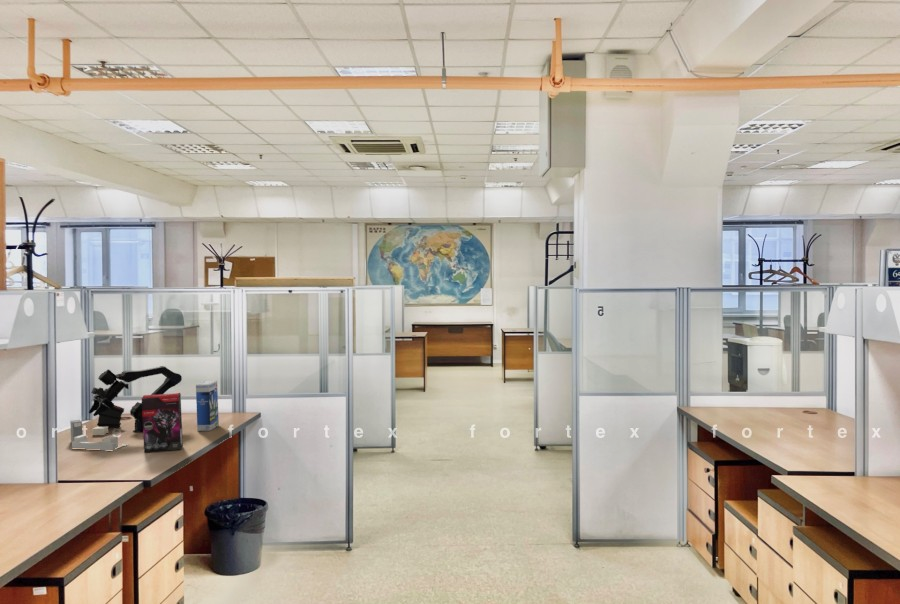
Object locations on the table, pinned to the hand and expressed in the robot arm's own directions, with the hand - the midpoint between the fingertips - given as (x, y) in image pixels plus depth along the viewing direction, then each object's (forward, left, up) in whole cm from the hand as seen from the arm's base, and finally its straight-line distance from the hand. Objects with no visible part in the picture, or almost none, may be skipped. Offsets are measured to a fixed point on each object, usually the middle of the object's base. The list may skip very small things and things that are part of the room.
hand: (91, 414), depth 323 cm
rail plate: (-17, +11, -13) cm, 24 cm away
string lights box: (-43, -36, -13) cm, 58 cm away
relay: (+5, -9, -13) cm, 17 cm away
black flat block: (+11, -21, -13) cm, 28 cm away
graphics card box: (-52, +6, -14) cm, 54 cm away
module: (+3, +6, -13) cm, 15 cm away
